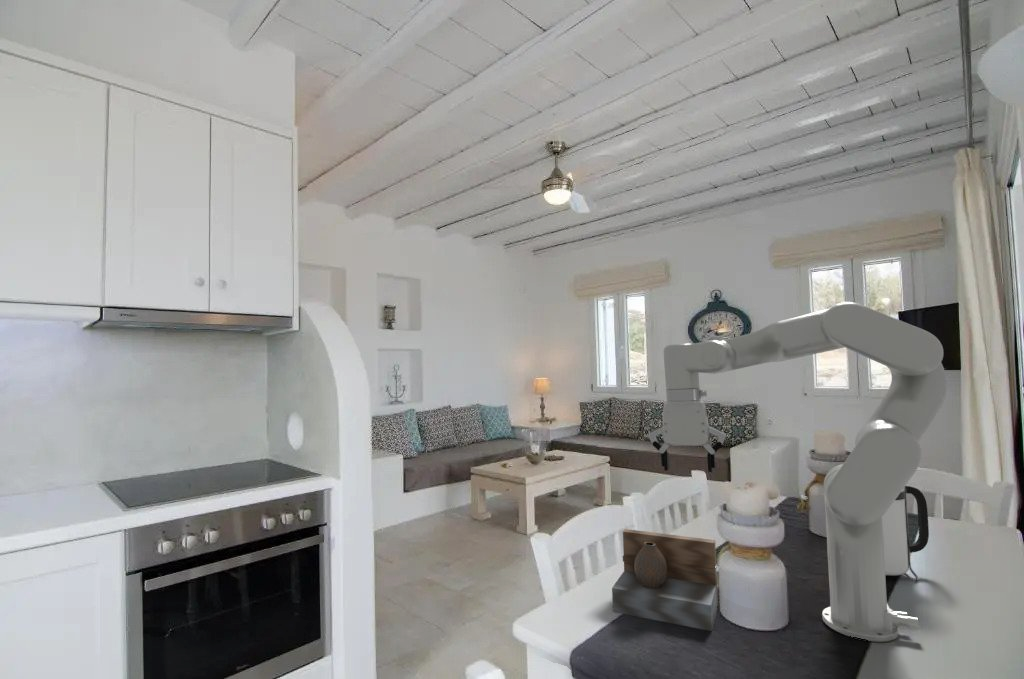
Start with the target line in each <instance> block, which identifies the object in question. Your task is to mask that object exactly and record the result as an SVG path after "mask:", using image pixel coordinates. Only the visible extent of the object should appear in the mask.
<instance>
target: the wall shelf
mask: <svg viewBox="0 0 1024 679" xmlns="http://www.w3.org/2000/svg"><path fill="white" fill-rule="evenodd" d="M622 541H623V542H622V546H623V555H622V562H623V572H622V573H621V575H620V576H619V578H618V579H617V581H615V583H614V585H613V586H612V588H611V593H612V594H611V598H612V599H611V600H612V612H614V613H618V614H623V615H627V616H628V615H629V616H633V617H637V618H638V617H639V618H643V619H647V620H653V621H657V622H658V621H659V622H663V623H668V624H673V625H677V626H678V625H679V626H683V627H687V628H695V629H697V630H698V629H699V630H704V631H709V632H713V630H714V629H713V628H714V624H715V621H714V620H716V616H717V612H718V608H717V606H718V607H719V601H718V600H719V598H718V597H719V596H718V576H717V575H718V574H717V573H718V572H717V571H716V569H717V549H716V540H715V539H708V538H701V537H700V538H699V537H691V536H685V535H676V534H669V533H661V532H650V531H645V530H636V529H628V528H625V529H624V530H623V531H622ZM645 542H653V543H655V544H656V546H657V548H658V550H659V551H660V552H661V553H662V555H663V556H664V558H665V561H666V564H667V577H666V580H665V582H664V583H663V584H662V585H661V586H660V587H659V588H647V587H644V586H643V585H642V584H641V583H640V582H639V581H638V579H637V577H636V574H635V568H634V563H635V558H636V556H637V554H638V552H639V551H640V550H641V549H642V547H643V545H644V543H645ZM715 566H716V568H715ZM716 611H717V612H716Z"/></svg>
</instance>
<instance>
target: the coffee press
mask: <svg viewBox="0 0 1024 679" xmlns="http://www.w3.org/2000/svg"><path fill="white" fill-rule="evenodd" d="M907 494H910V495H912V496H913V497H914V499H915V501H916V507H917V524H918V525H917V526H918V536H917V537H918V538H917V540H916V541H915V542H914V543H911V544H910V533H909V531H910V530H909V519H908V518H909V517H908V502H907V501H908V500H907ZM882 526H883V539H884V562H885V576H901V575H904V576H905V577H906V578H908V580H909V581H911V582H913V581H915V582H917V580H918V577H919V576H918V575H917V574H916V572H915V571H914V570H913V568H912V565H911V564H912V563H911V553H916V552H917V553H918V552H920V551H922V550H924V548H926V546H927V544H928V542H929V539H930V538H929V537H930V535H929V533H930V529H929V527H930V526H929V513H928V504H927V499H926V497H925V495H924V493H923V492H922V491H921V490H920V489H918V488H916V487H913V486H910V485H906V486H905V487H904V489H903V490H902V491H901V493H900V494H899V495H898V497H897V498H896V499H895V501H894V502H893V503H892V505H891V506H890V507H889V509H888V510H887V511H886V512H885V514H884V515H883V516H882ZM909 571H910V572H911V574H912V575H913V576H914V577H915V578H912V577H911V576H910V575H909V574H908V572H909ZM913 579H914V580H913Z"/></svg>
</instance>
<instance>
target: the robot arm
mask: <svg viewBox="0 0 1024 679" xmlns="http://www.w3.org/2000/svg"><path fill="white" fill-rule="evenodd" d="M663 348H664V349H663V363H664V364H663V365H664V378H665V395H666V402H664V403H663V409H662V410H663V411H662V412H663V413H662V426H661V427H660V428H657V429H655V430H653V431H651V432H649V433H647V434H648V435H647V437H648V439H649V440H650V442H651V444H652V446H653V447H654V448H655V449H656V450H657V451H658V452H659V453H660V458H661V459H660V460H661V466H662V467H663V469H664V471H666V472H667V471H669V469H670V455H669V452H668V448H669V447H671V446H673V447H674V446H680V447H681V446H684V447H685V446H686V447H703V448H704V449H705V450H706V451H707V453H706V454H707V455H706V459H707V471H708V472H709V473H712V472H713V469H715V468H716V459H715V458H716V457H715V453H717V451H718V450H720V448H722V446H723V444H724V442H725V440H726V437H727V434H726V433H724V432H723V431H721V430H718V429H717V428H714V427H712V426H710V424H709V416H708V410H707V407H706V402H704V401H702V400H701V399H702V398H704V397H708V394H707V392H708V391H707V390H703V389H701V388H700V376H699V374H700V373H702V374H710V375H712V374H714V375H715V374H721V373H727V372H730V371H734V370H739V369H744V368H749V367H753V366H759V365H763V364H768V363H778V362H779V363H780V362H785V361H789V360H795V359H799V358H803V357H807V356H813V355H816V354H821V353H825V352H831V351H835V350H841V349H844V348H845V349H848V350H850V351H852V352H854V353H856V354H858V355H860V356H862V357H865V358H867V359H869V360H872V361H874V362H876V363H879V364H881V365H883V366H885V367H887V368H888V369H889V371H890V374H891V380H890V385H889V388H888V390H887V391H886V393H885V395H884V396H883V397H882V399H881V402H880V403H879V404H878V405H877V407H876V408H875V410H874V411H873V412H872V414H871V416H870V417H869V418H868V420H867V421H866V422H865V423H864V425H863V426H862V427H861V428H860V429H859V431H858V432H857V434H856V436H855V439H854V440H855V441H854V445H855V446H854V448H853V449H852V451H851V452H850V454H849V455H848V457H847V458H846V459H845V461H844V462H843V463H842V464H838V465H835V466H833V467H832V468H831V469H830V470H829V471H828V472H827V473H826V475H825V477H824V480H823V495H824V496H823V498H824V509H825V511H824V512H825V527H826V528H825V529H826V547H827V550H826V551H827V562H828V563H827V565H828V566H827V567H828V568H827V569H828V586H829V603H830V604H829V606H828V607H826V608H823V610H822V611H821V612H822V613H821V616H822V621H823V623H825V625H827V626H828V627H829V628H830V629H832V630H834V631H835V632H838V633H840V634H842V635H844V636H847V637H850V636H851V637H850V638H853V637H857V638H861V639H866V640H868V641H867V642H875V643H876V642H877V643H879V642H881V643H883V642H891V641H894V640H896V639H897V638H898V636H899V633H900V632H899V626H901V627H906V628H910V629H914V630H919V629H920V622H919V619H918V617H914V616H908V613H907V612H906V611H901V610H900V611H899V610H893V608H891V607H890V606H889V604H888V601H887V598H888V597H887V583H886V582H887V581H886V575H885V562H884V539H883V526H882V516H883V515H884V514H885V512H886V511H887V510H888V509H889V507H890V506H891V505H892V503H893V502H894V501H895V499H896V498H897V497H898V495H899V494H900V493H901V491H902V490H903V489H904V487H905V486H907V485H908V484H909V482H910V480H911V479H912V478H913V476H914V475H915V473H916V472H917V470H918V468H919V466H920V463H921V460H922V448H921V445H920V443H919V442H920V440H921V439H922V438H923V436H924V434H925V433H926V432H927V430H928V428H930V425H931V424H932V422H934V419H935V418H936V416H937V414H938V413H939V412H940V409H941V408H942V406H943V403H944V401H945V398H946V396H947V395H946V394H947V388H948V387H947V386H948V384H947V382H948V381H947V377H946V376H947V375H946V371H945V369H944V365H943V363H942V361H943V358H944V347H943V344H942V343H941V341H940V340H939V339H938V337H937V336H935V334H932V333H931V332H929V331H927V330H925V329H923V328H920V327H919V326H915V325H912V324H910V323H908V322H905V321H903V320H900V319H898V318H895V317H892V316H891V315H887V314H885V313H883V312H880V311H878V310H875V309H873V308H870V307H868V306H865V305H863V304H862V303H858V302H854V301H853V302H852V301H843V302H841V303H836V304H834V305H833V306H831V307H830V308H828V309H822V310H817V311H815V312H811V313H807V314H802V315H800V316H796V317H791V318H790V317H789V318H786V319H783V320H779V321H776V322H773V323H770V324H768V325H766V326H765V327H764V326H763V327H762V328H760V329H758V330H756V331H753V332H750V333H745V334H742V335H739V336H736V337H731V338H727V339H723V340H714V339H713V340H706V341H705V340H704V341H701V342H696V343H690V342H688V343H687V342H686V343H673V344H667V345H666V346H665V347H663ZM661 434H662V440H663V444H662V443H660V442H659V440H658V439H657V436H659V435H661ZM711 435H713V436H715V437H717V441H716V442H715V443H714V444H713V445H712V444H711V443H710V440H711ZM857 638H856V639H857ZM861 639H860V640H861ZM866 640H865V641H866Z"/></svg>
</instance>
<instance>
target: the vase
mask: <svg viewBox="0 0 1024 679" xmlns="http://www.w3.org/2000/svg"><path fill="white" fill-rule="evenodd" d="M634 568H635V574H636V577H637V579H638V581H639V582H640V583H641V584H642V585H643V586H644V587H647V588H659V587H660V586H661V585H662V584H663V583H664V582H665V580H666V577H667V564H666V561H665V558H664V556H663V555H662V553H661V552H660V551H659V550H658V548H657V546H656V544H655V543H653V542H645V543H644V545H643V547H642V549H641V550H640V551H639V552H638V554H637V556H636V558H635V563H634Z"/></svg>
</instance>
